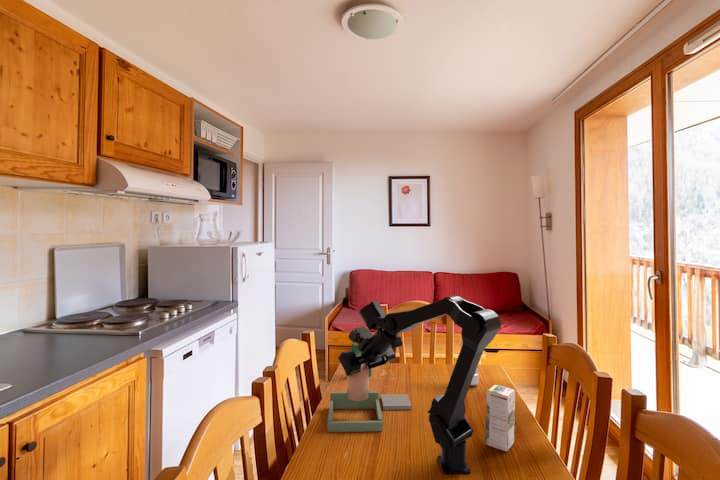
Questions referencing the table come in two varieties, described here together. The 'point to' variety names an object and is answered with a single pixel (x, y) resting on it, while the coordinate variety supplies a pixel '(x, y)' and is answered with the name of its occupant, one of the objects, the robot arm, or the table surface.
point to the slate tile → (396, 402)
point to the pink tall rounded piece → (358, 384)
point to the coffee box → (358, 352)
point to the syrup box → (500, 417)
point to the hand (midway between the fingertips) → (354, 371)
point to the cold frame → (342, 402)
